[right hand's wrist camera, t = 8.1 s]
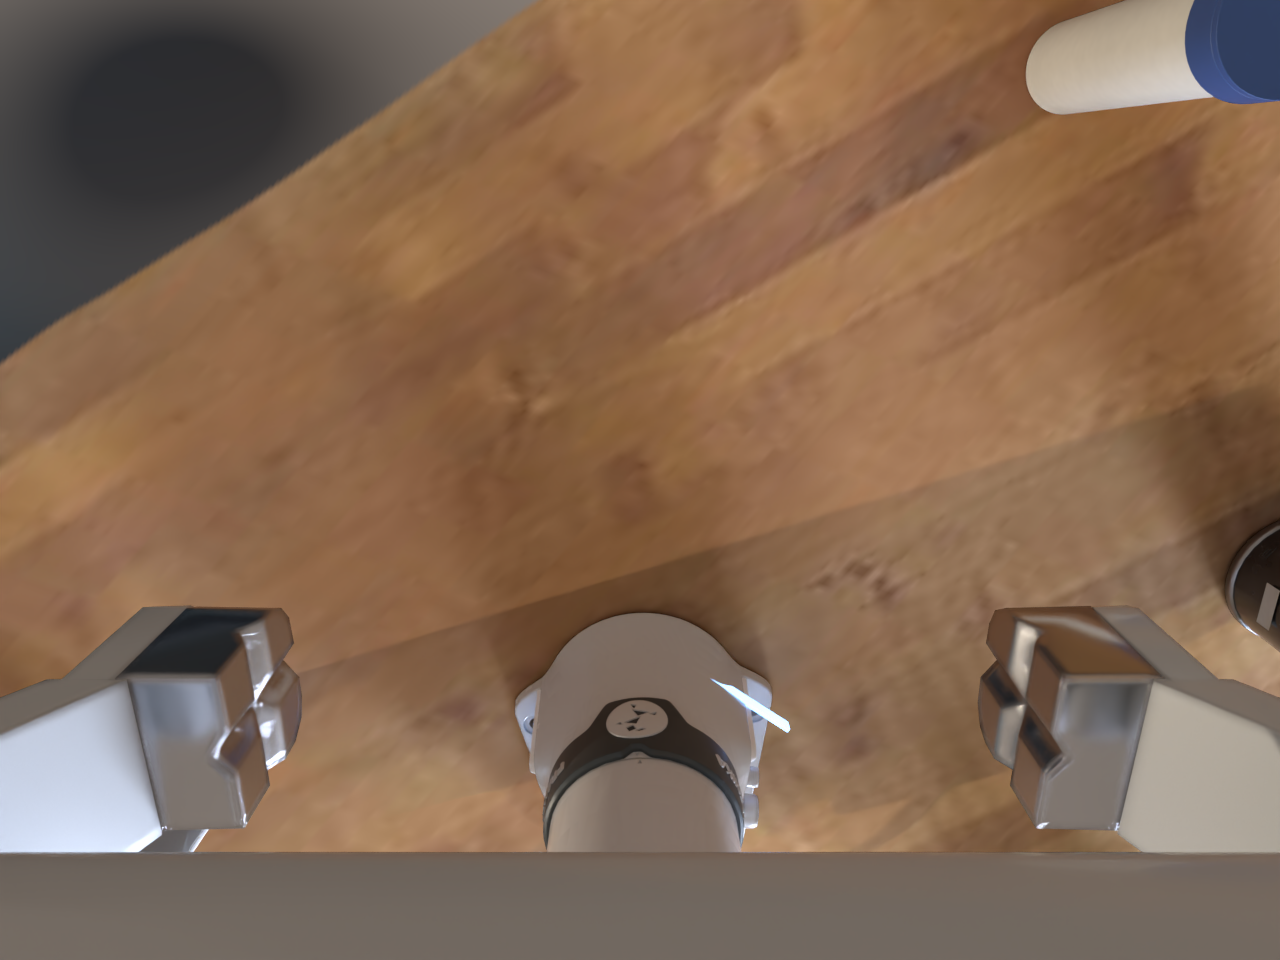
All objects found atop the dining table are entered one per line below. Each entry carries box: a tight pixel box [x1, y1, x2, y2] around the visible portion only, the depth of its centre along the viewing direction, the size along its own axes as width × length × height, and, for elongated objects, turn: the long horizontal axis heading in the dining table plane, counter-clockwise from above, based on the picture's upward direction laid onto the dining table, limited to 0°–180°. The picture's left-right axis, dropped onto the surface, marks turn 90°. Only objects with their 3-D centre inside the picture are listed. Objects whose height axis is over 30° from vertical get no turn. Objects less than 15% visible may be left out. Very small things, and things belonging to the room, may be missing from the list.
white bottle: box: [1026, 0, 1214, 114], centre depth 42 cm, size 5×5×18 cm
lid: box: [1185, 0, 1280, 104], centre depth 34 cm, size 6×6×2 cm
